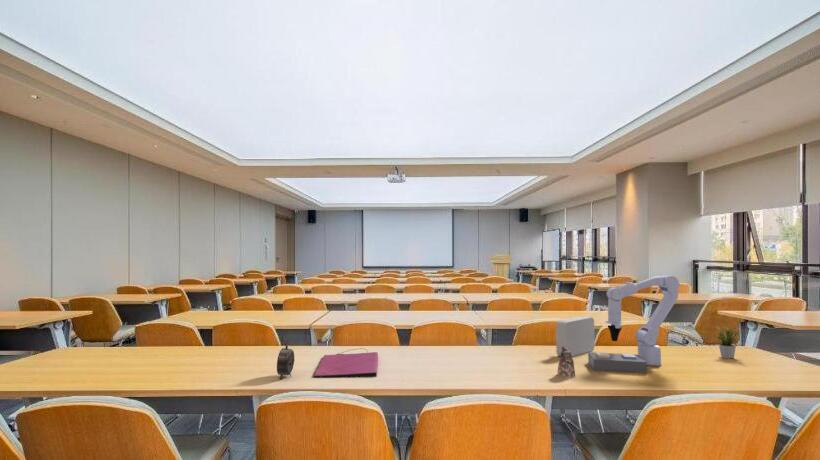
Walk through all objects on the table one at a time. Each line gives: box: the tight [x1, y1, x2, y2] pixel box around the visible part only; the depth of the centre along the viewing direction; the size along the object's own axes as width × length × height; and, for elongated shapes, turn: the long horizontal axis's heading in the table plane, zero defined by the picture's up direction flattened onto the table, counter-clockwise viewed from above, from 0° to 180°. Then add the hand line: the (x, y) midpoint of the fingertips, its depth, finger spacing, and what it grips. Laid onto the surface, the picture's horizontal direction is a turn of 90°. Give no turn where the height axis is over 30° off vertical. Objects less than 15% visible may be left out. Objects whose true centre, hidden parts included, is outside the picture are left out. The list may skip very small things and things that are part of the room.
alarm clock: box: [276, 338, 295, 381], centre depth 189 cm, size 11×5×16 cm, turn 178°
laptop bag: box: [312, 348, 379, 379], centre depth 208 cm, size 40×4×27 cm
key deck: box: [587, 351, 648, 375], centre depth 204 cm, size 22×14×5 cm, turn 77°
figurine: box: [557, 347, 576, 379], centre depth 192 cm, size 7×7×12 cm
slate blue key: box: [621, 353, 636, 359], centre depth 203 cm, size 5×5×4 cm
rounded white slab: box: [555, 316, 596, 358], centre depth 234 cm, size 29×8×18 cm, turn 129°
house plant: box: [713, 325, 742, 359], centre depth 224 cm, size 14×14×16 cm
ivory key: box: [596, 352, 610, 358], centre depth 205 cm, size 5×5×4 cm
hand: (614, 340), depth 214 cm, fingers closed
